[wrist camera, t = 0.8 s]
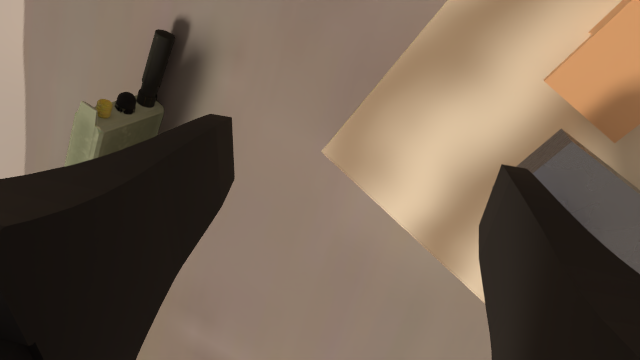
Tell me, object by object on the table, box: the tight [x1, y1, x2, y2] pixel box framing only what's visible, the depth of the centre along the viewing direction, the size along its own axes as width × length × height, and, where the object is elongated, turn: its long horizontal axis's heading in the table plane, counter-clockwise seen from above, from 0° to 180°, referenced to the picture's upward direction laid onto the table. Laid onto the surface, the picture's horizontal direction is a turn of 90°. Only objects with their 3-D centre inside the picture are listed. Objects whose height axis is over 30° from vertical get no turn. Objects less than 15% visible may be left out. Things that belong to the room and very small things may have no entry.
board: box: [321, 0, 640, 303], centre depth 22 cm, size 18×17×4 cm
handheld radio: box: [64, 30, 175, 167], centre depth 34 cm, size 7×3×25 cm
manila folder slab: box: [543, 0, 640, 143], centre depth 19 cm, size 4×6×2 cm
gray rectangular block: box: [492, 128, 640, 274], centre depth 20 cm, size 10×4×1 cm, turn 52°
